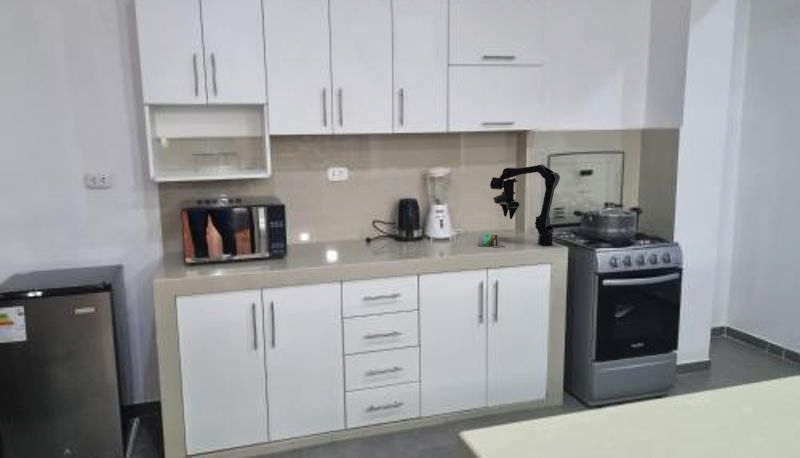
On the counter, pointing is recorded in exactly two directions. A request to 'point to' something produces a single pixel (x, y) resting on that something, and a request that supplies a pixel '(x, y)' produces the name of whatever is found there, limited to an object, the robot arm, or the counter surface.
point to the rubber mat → (499, 245)
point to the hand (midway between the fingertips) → (508, 217)
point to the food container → (487, 240)
